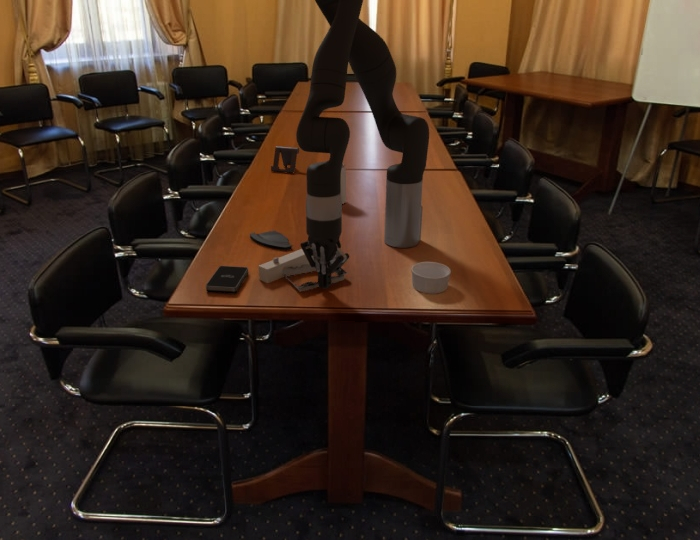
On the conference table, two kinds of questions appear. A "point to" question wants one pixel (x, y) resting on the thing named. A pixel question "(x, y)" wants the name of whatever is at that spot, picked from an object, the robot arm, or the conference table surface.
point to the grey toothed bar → (281, 265)
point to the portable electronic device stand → (285, 159)
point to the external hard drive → (227, 280)
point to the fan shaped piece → (272, 240)
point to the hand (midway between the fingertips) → (324, 286)
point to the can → (343, 184)
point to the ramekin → (430, 277)
